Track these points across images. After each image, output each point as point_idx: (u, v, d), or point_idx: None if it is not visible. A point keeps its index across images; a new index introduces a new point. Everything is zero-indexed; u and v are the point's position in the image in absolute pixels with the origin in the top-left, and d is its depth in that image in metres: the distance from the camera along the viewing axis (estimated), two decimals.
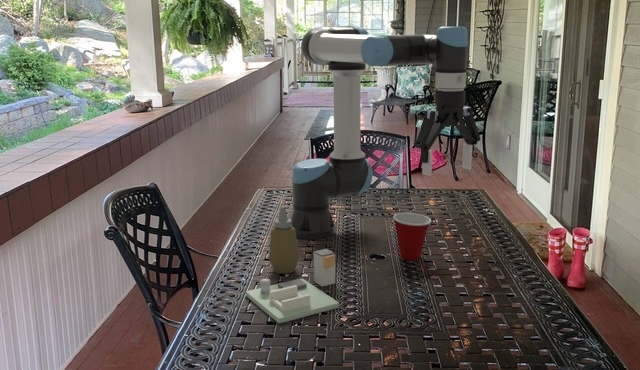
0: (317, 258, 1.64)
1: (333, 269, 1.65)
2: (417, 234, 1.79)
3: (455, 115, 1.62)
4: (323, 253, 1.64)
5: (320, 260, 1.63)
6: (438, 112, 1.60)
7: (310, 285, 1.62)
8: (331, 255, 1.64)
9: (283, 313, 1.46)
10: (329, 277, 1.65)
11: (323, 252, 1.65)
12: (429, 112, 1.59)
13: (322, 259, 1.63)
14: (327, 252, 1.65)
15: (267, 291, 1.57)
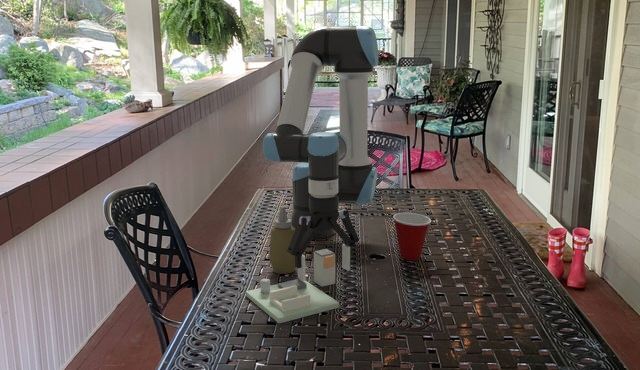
0: (317, 258, 1.64)
1: (333, 269, 1.65)
2: (417, 234, 1.79)
3: (329, 220, 1.62)
4: (323, 253, 1.64)
5: (320, 260, 1.63)
6: (310, 218, 1.60)
7: (310, 285, 1.62)
8: (331, 255, 1.64)
9: (283, 313, 1.46)
10: (329, 277, 1.65)
11: (324, 252, 1.65)
12: (300, 219, 1.59)
13: (322, 259, 1.63)
14: (327, 252, 1.65)
15: (267, 291, 1.57)
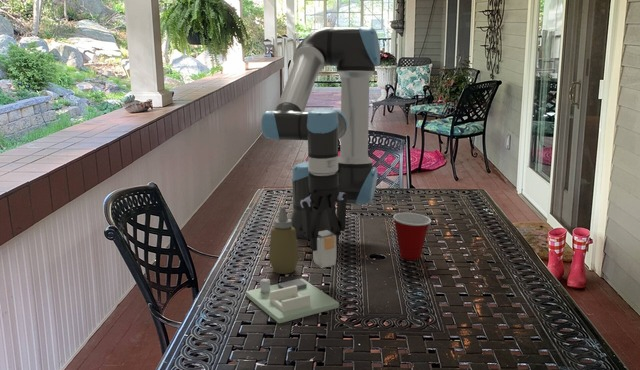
0: None
1: (333, 250, 1.64)
2: (418, 234, 1.79)
3: (329, 196, 1.61)
4: (323, 234, 1.63)
5: (320, 241, 1.62)
6: (310, 198, 1.59)
7: (310, 285, 1.62)
8: (331, 236, 1.63)
9: (283, 313, 1.46)
10: (330, 258, 1.64)
11: (324, 233, 1.64)
12: (301, 204, 1.59)
13: (322, 240, 1.62)
14: (327, 233, 1.64)
15: (267, 291, 1.57)
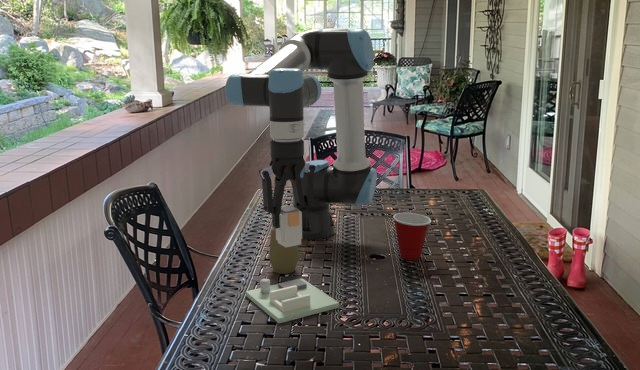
0: None
1: (299, 228, 1.46)
2: (418, 233, 1.79)
3: (293, 167, 1.43)
4: (287, 209, 1.45)
5: None
6: (272, 168, 1.41)
7: (310, 285, 1.62)
8: (296, 212, 1.45)
9: (283, 313, 1.46)
10: (294, 237, 1.46)
11: (288, 209, 1.46)
12: (261, 174, 1.41)
13: (286, 216, 1.44)
14: (292, 209, 1.46)
15: (267, 291, 1.57)
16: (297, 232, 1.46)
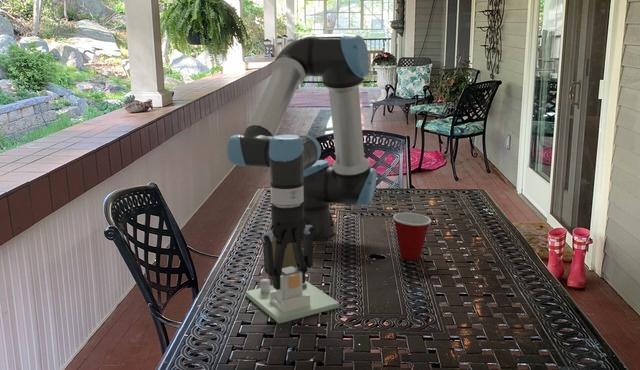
0: None
1: (299, 289, 1.50)
2: (418, 234, 1.79)
3: (294, 230, 1.46)
4: (288, 271, 1.49)
5: (284, 279, 1.48)
6: (272, 232, 1.45)
7: (310, 285, 1.62)
8: (296, 273, 1.48)
9: (283, 313, 1.46)
10: None
11: (288, 270, 1.49)
12: (262, 238, 1.44)
13: (286, 278, 1.47)
14: (292, 270, 1.49)
15: (267, 291, 1.57)
16: (297, 293, 1.50)
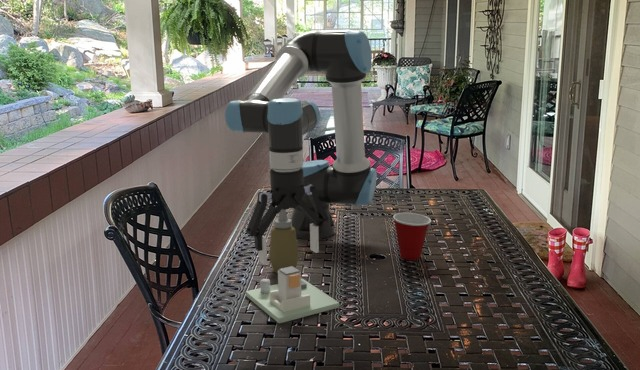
0: (281, 277, 1.49)
1: (299, 289, 1.50)
2: (417, 233, 1.79)
3: (293, 196, 1.45)
4: (288, 271, 1.49)
5: (284, 279, 1.48)
6: (272, 195, 1.43)
7: (310, 285, 1.62)
8: (297, 273, 1.48)
9: (283, 313, 1.46)
10: None
11: (288, 270, 1.49)
12: (260, 195, 1.42)
13: (287, 278, 1.47)
14: (292, 270, 1.49)
15: (267, 291, 1.57)
16: (297, 293, 1.50)
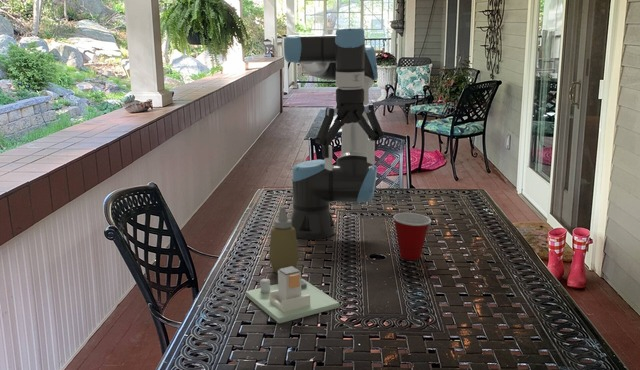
0: (281, 277, 1.49)
1: (299, 289, 1.50)
2: (418, 233, 1.79)
3: (355, 112, 1.70)
4: (288, 271, 1.49)
5: (284, 279, 1.48)
6: (337, 109, 1.68)
7: (310, 285, 1.62)
8: (297, 273, 1.48)
9: (283, 313, 1.46)
10: None
11: (288, 270, 1.49)
12: (328, 110, 1.67)
13: (287, 278, 1.47)
14: (292, 270, 1.49)
15: (267, 291, 1.57)
16: (297, 293, 1.50)
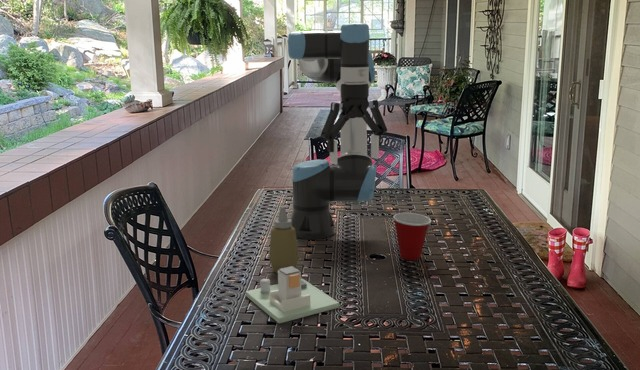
0: (281, 277, 1.49)
1: (299, 289, 1.50)
2: (418, 234, 1.79)
3: (360, 107, 1.72)
4: (288, 271, 1.49)
5: (284, 279, 1.48)
6: (342, 104, 1.70)
7: (310, 285, 1.62)
8: (297, 273, 1.48)
9: (283, 313, 1.46)
10: None
11: (288, 270, 1.49)
12: (333, 104, 1.69)
13: (287, 278, 1.47)
14: (292, 270, 1.49)
15: (267, 291, 1.57)
16: (297, 293, 1.50)
